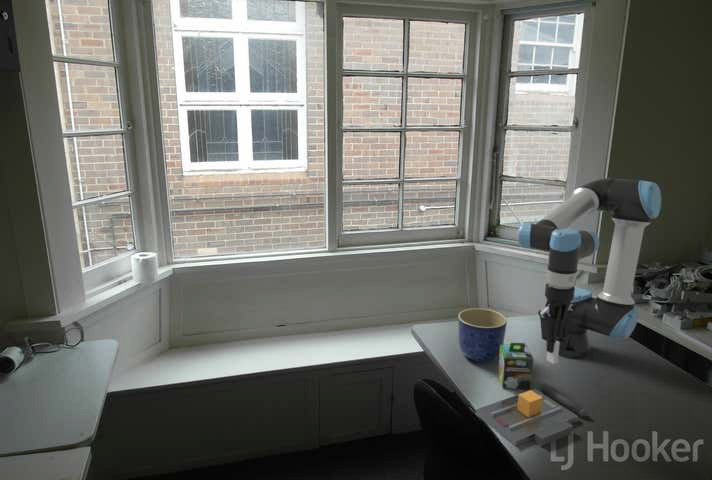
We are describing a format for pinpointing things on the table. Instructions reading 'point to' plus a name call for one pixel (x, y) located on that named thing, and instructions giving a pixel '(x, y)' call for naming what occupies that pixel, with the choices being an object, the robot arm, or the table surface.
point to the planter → (481, 333)
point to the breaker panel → (523, 418)
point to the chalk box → (515, 366)
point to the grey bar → (553, 433)
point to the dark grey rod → (564, 401)
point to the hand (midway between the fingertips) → (551, 361)
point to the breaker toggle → (529, 403)
